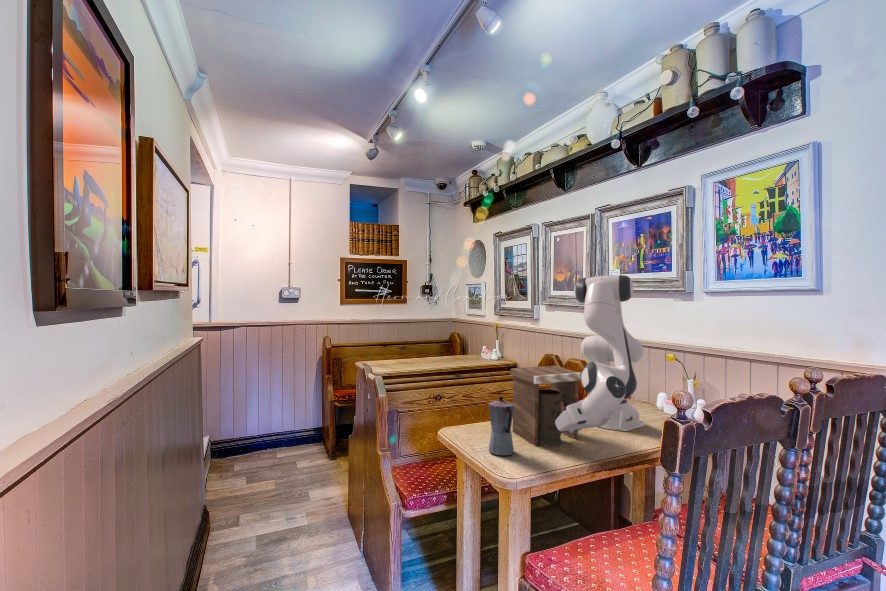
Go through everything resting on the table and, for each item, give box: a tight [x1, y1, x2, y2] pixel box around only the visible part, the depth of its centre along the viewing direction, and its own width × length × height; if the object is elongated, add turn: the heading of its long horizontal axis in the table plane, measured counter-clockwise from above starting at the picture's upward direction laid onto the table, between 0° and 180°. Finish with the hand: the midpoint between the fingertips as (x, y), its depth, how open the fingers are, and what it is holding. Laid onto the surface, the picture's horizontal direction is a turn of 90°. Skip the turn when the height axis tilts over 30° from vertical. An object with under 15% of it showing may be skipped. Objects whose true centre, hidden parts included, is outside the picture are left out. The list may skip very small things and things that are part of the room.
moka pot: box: [488, 396, 515, 456], centre depth 150 cm, size 10×15×20 cm, turn 19°
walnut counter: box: [510, 365, 581, 446], centre depth 168 cm, size 22×18×27 cm
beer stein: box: [538, 388, 569, 447], centre depth 163 cm, size 15×11×20 cm
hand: (572, 431), depth 152 cm, fingers closed
